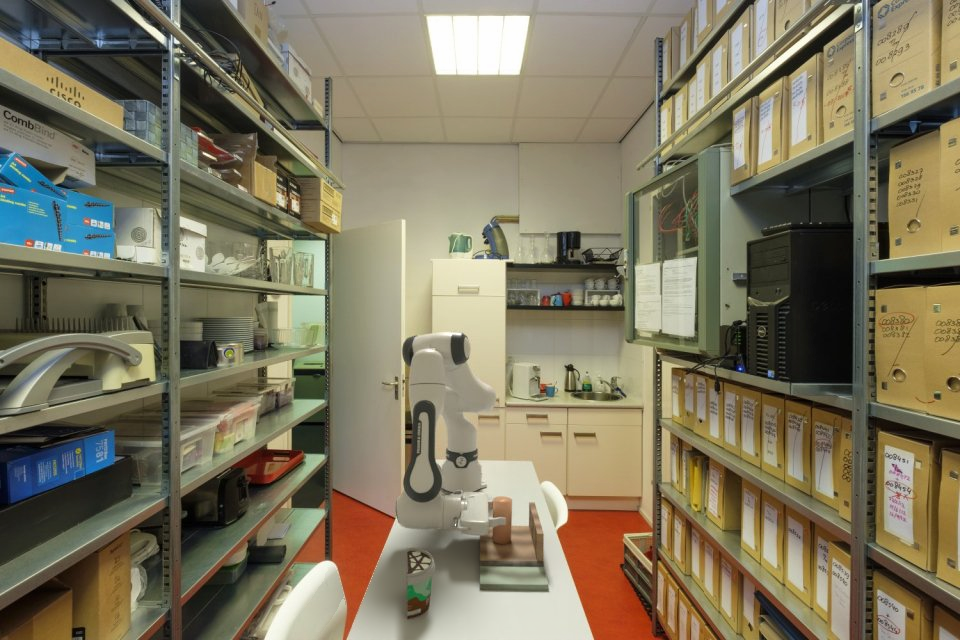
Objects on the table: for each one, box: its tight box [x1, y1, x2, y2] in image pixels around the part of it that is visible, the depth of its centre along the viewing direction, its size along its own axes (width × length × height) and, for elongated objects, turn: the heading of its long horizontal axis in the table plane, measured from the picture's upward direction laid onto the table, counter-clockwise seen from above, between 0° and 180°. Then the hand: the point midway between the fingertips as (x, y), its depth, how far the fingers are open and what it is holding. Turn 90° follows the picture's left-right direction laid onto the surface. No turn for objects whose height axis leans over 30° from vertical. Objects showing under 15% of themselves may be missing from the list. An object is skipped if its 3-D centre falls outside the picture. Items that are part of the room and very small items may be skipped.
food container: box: [406, 547, 436, 620], centre depth 104 cm, size 12×6×10 cm, turn 9°
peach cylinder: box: [492, 495, 513, 544], centre depth 130 cm, size 5×5×11 cm
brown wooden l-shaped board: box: [479, 501, 549, 591], centre depth 124 cm, size 29×16×9 cm, turn 0°
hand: (505, 513), depth 130 cm, fingers open, 8 cm apart
